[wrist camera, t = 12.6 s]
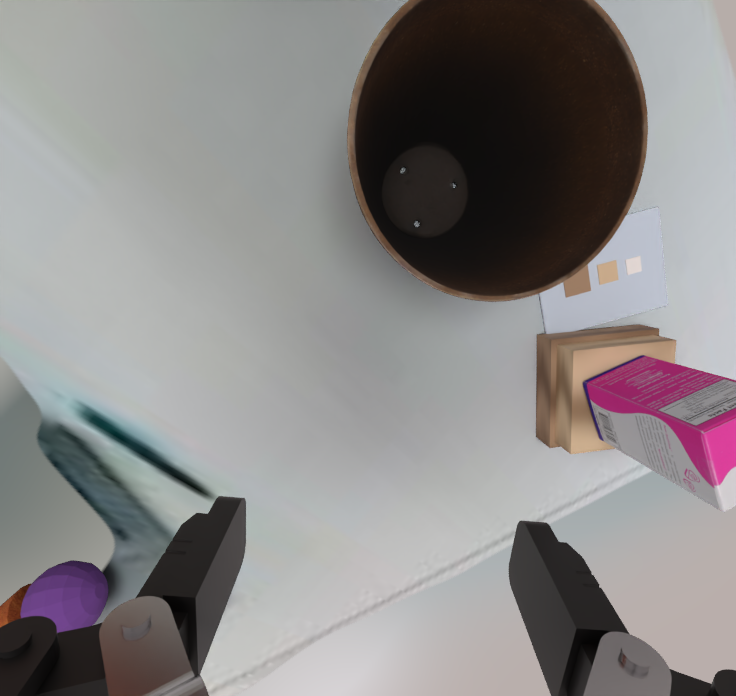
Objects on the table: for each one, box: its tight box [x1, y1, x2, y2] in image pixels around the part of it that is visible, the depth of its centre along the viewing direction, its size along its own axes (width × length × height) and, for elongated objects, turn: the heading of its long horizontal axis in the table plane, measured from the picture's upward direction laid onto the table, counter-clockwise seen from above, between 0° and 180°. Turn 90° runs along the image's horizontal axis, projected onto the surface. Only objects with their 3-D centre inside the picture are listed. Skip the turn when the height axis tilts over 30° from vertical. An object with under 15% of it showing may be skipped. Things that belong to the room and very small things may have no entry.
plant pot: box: [347, 0, 648, 302], centre depth 29 cm, size 15×15×16 cm
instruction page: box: [539, 207, 668, 334], centre depth 40 cm, size 9×12×1 cm
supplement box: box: [583, 355, 736, 512], centre depth 31 cm, size 6×6×12 cm
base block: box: [536, 325, 676, 454], centre depth 39 cm, size 10×10×5 cm
